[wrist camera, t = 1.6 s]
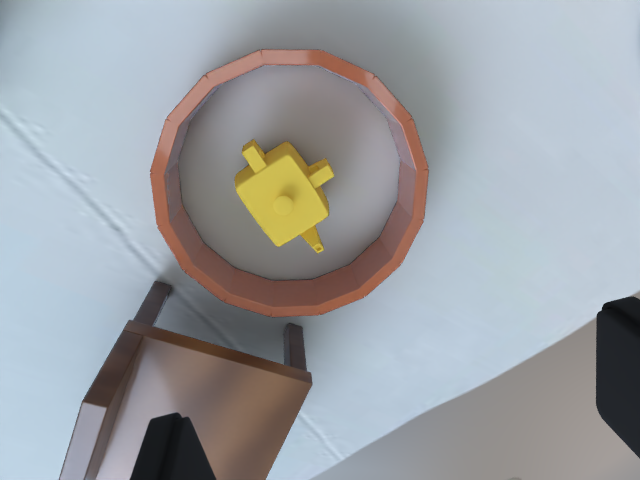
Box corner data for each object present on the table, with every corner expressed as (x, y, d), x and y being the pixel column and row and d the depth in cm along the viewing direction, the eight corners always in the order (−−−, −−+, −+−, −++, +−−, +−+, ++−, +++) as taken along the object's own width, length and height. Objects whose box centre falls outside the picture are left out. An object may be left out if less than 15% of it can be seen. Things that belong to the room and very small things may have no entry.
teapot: (356, 205, 32) (370, 230, 28) (288, 247, 33) (290, 279, 28) (294, 107, 30) (298, 116, 25) (222, 155, 30) (211, 173, 25)
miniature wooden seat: (306, 325, 36) (321, 460, 23) (253, 438, 39) (243, 606, 27) (153, 277, 33) (81, 400, 21) (112, 403, 37) (31, 571, 25)
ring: (362, 6, 28) (375, -2, 24) (438, 238, 34) (458, 260, 30) (118, 114, 29) (95, 122, 25) (235, 321, 35) (230, 351, 31)
